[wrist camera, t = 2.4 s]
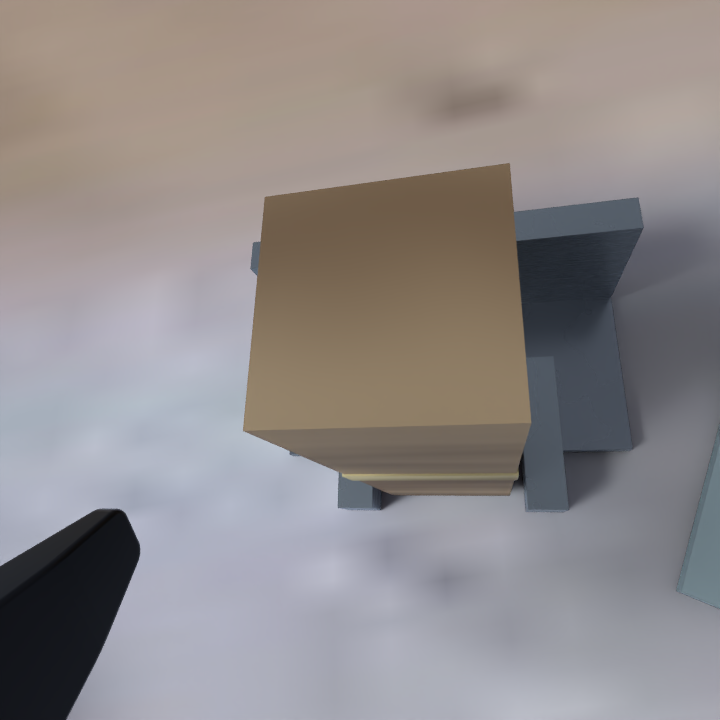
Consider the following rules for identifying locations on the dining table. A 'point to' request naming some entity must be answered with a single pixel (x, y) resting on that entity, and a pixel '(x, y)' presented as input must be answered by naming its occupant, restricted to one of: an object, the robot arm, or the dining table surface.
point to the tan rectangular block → (394, 333)
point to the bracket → (560, 343)
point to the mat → (705, 540)
